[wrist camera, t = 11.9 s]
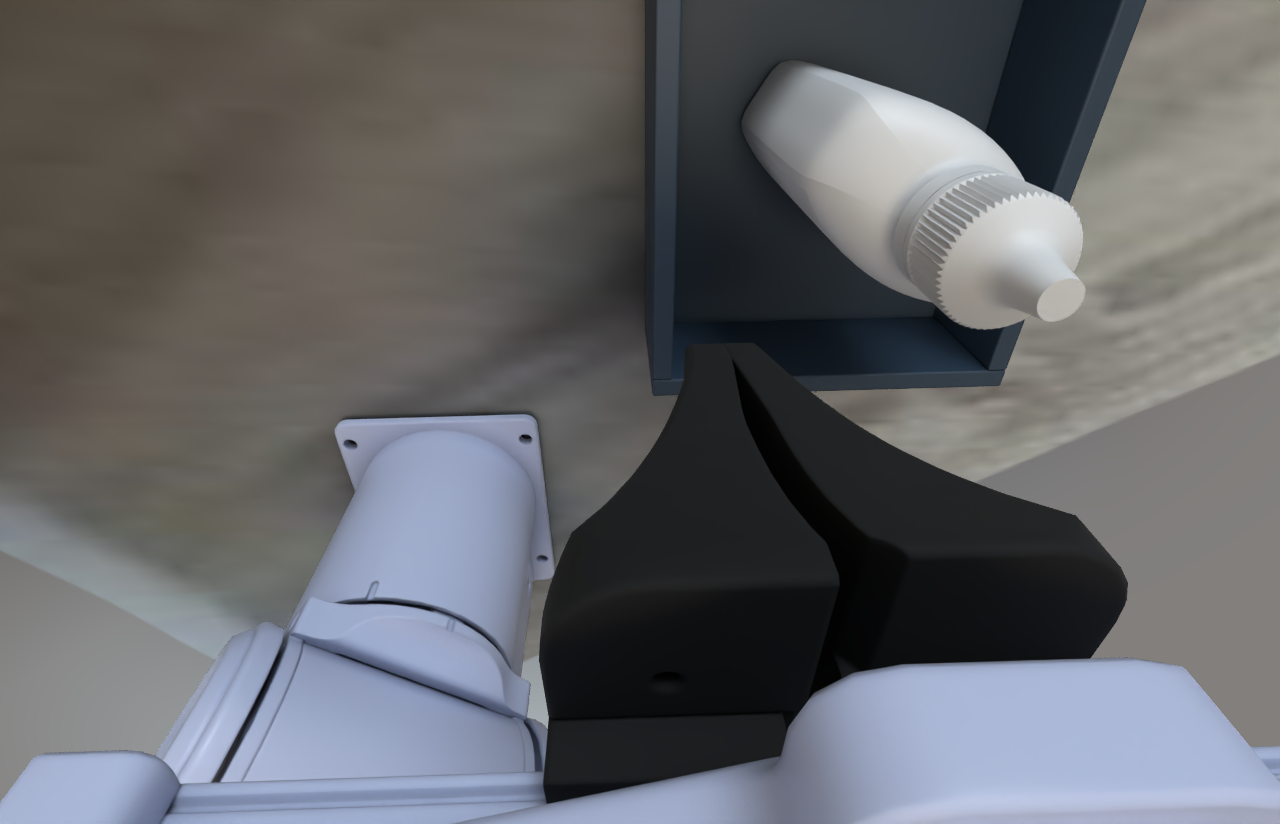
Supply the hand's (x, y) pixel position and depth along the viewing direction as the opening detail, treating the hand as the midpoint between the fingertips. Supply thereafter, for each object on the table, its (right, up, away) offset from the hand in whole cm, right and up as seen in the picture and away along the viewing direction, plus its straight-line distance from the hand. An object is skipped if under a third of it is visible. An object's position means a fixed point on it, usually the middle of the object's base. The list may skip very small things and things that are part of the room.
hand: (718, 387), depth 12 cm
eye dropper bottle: (+4, +8, +7) cm, 11 cm away
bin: (+4, +8, +7) cm, 12 cm away
